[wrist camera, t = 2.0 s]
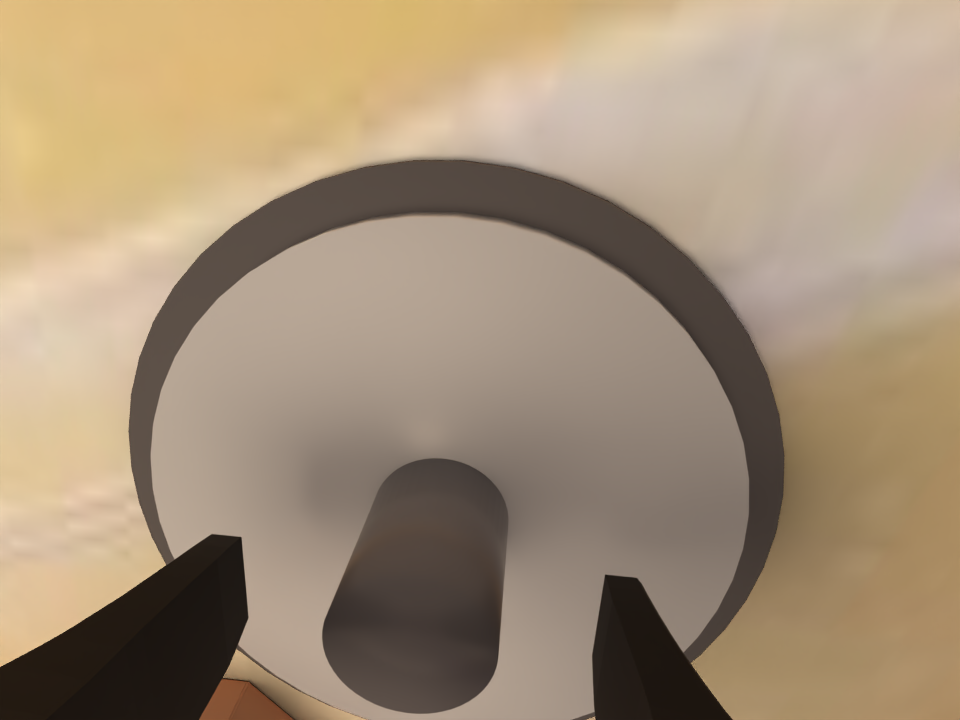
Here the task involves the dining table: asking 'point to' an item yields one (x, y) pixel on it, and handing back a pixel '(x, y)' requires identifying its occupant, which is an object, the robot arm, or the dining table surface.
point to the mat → (514, 201)
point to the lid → (449, 464)
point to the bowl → (241, 704)
